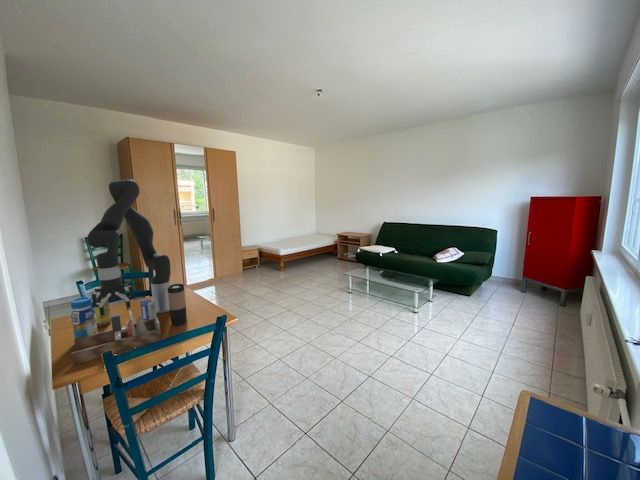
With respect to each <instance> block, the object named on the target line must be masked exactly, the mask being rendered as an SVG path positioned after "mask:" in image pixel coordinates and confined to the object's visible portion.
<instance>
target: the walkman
mask: <svg viewBox="0 0 640 480" xmlns="http://www.w3.org/2000/svg"><path fill="white" fill-rule="evenodd" d="M139 303H140V311H141V316H143V317H144V318H143V321H147V320H151V319H154V316H153V314H155V313H156V307H155V301H153V300H151V299H145V298H144V299H143V300H139ZM156 315H158V313H156Z"/></svg>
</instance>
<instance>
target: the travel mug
mask: <svg viewBox="0 0 640 480" xmlns="http://www.w3.org/2000/svg"><path fill="white" fill-rule="evenodd" d="M184 285H185V284H183V283H175V284H174V283H173V284H170V287H167V288H168V299H169V309H170V311H169V314H170V322H171V326H176V327H177V326H182V325H184V324H186V323H187V321H188V320H187V319H188V317H187V316H188V315H187V303H186V294H185V286H184Z"/></svg>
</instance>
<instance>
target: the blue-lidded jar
mask: <svg viewBox="0 0 640 480" xmlns="http://www.w3.org/2000/svg"><path fill="white" fill-rule="evenodd" d="M70 307H71V309H72V312H71V314H70V318H71V320H70V322H71V325H72V328H73V329H72V330H73V334H74V339H75V338H79V337H83V336H87V335H91V334H95V333H99V331H98V326H97V325H96V315H95V314H94V313H95V311H94V307H93V306H92V298H91V297H89V296H88V297H87V296H86V297H84V296H83V297H78V298H75V299H72V301H71V300H70Z"/></svg>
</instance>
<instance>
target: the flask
mask: <svg viewBox="0 0 640 480" xmlns="http://www.w3.org/2000/svg"><path fill="white" fill-rule="evenodd" d="M143 318H144V317H143V316H142V315H141V316H136V317H135V321H136V323H137V326H136V330H135V335H138V334H142V333H146V332H149V331H150V330H149V331H148V329H147V328H146V326H145V324H144V322H143Z"/></svg>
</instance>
